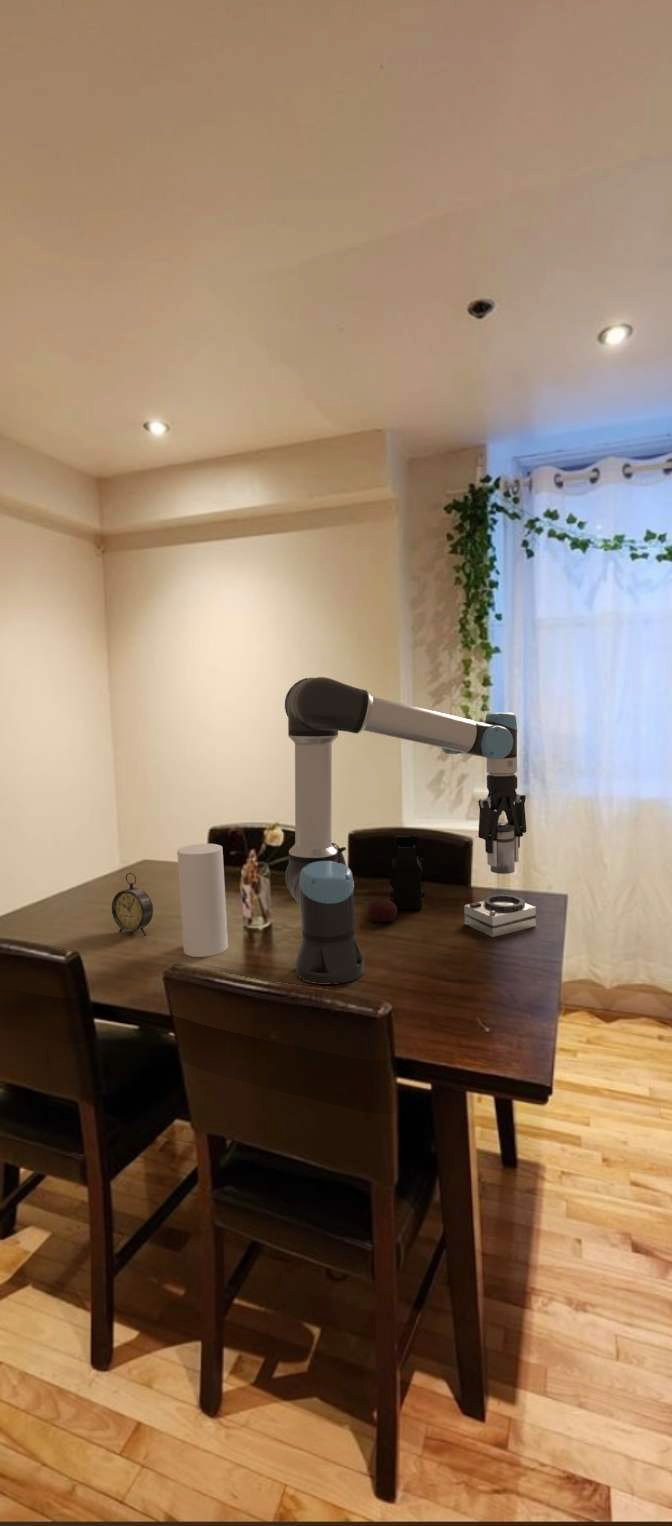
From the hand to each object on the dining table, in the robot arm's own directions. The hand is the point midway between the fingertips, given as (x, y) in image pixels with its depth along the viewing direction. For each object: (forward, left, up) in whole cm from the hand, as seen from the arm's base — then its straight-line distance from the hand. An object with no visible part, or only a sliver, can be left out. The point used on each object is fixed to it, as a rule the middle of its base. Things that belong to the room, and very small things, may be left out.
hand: (503, 862), depth 173 cm
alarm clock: (-84, +47, -16) cm, 98 cm away
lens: (0, 0, -2) cm, 2 cm away
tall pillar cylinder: (-71, +26, -16) cm, 78 cm away
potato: (-25, +19, -16) cm, 36 cm away
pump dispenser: (-24, +50, -16) cm, 58 cm away
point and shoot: (-1, 0, -16) cm, 16 cm away
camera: (-11, +28, -16) cm, 34 cm away
